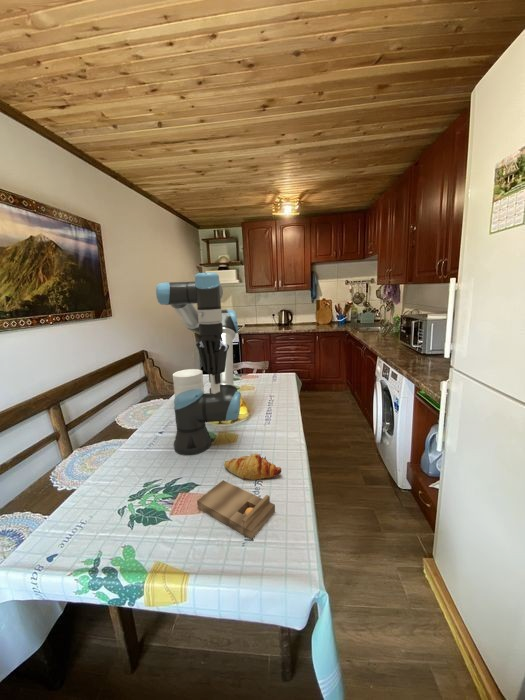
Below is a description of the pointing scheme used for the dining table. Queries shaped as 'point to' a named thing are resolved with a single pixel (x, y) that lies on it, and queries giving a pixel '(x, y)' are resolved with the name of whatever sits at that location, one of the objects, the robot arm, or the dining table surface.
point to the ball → (248, 511)
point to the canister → (187, 380)
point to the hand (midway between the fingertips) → (215, 392)
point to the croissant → (252, 467)
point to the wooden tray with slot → (237, 508)
